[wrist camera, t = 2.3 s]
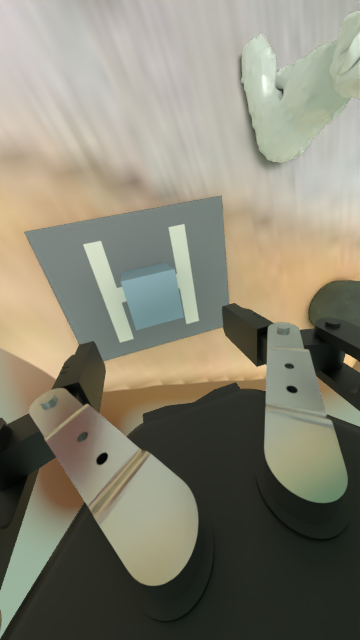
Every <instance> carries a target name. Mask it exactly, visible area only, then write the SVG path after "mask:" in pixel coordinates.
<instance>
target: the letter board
mask: <svg viewBox="0 0 360 640" xmlns="http://www.w3.org/2000/svg"><path fill="white" fill-rule="evenodd" d="M24 233H25V235H26V237H27V239H28V241H29V243H30V245H31V247H32V249H33V251H34V253H35V255H36V257H37V259H38V261H39V264H40V266H41V268H42V270H43V272H44V274H45V276H46V278H47V280H48V282H49V284H50V286H51V288H52V290H53V292H54V294H55V296H56V298H57V300H58V302H59V304H60V306H61V308H62V310H63V312H64V315H65V317H66V319H67V321H68V323H69V325H70V327H71V329H72V331H73V333H74V335H75V337H76V339H77V341H78V343H79V345H80V344H84V343H87V342H91V341H94V342H95V344H96V346H97V348H98V350H99V353H100V355H101V357H102V360H103V361H106V360H110V359H113V358H116V357H120V356H123V355H127V354H130V353H134V352H137V351H141V350H144V349H148V348H151V347H155V346H158V345H161V344H165V343H168V342H172V341H175V340H179V339H182V338H186V337H189V336H193V335H196V334H200V333H203V332H206V331H210V330H213V329H217V328H220V327H223V318H222V307H223V306H225V305H229V293H228V279H227V265H226V250H225V236H224V222H223V208H222V196H217V197H211V198H206V199H201V200H195V201H190V202H184V203H179V204H173V205H168V206H162V207H157V208H152V209H146V210H141V211H135V212H130V213H124V214H119V215H114V216H108V217H103V218H97V219H92V220H86V221H81V222H75V223H70V224H65V225H59V226H54V227H48V228H43V229H37V230H32V231H27V232H24ZM164 262H166V263H167V264H168V265H170V266H171V267H173V268H174V269H175V273H176V278H177V283H178V289H179V294H180V299H181V305H182V310H183V315H184V317H183V318H180V319H176V320H172V321H169V322H165V323H161V324H158V325H154V326H150V327H147V328H143V329H139V330H136V328H135V325H134V322H133V319H132V316H131V313H130V310H129V306H128V303H127V300H126V297H125V294H124V291H123V288H122V285H121V276H122V272H125V271H129V270H134V269H138V268H142V267H147V266H151V265H156V264H160V263H164Z"/></svg>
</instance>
